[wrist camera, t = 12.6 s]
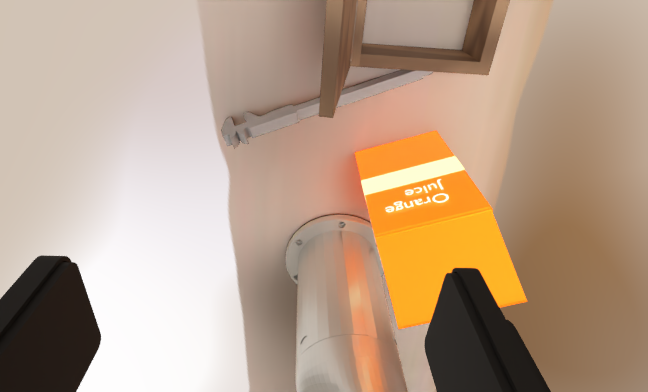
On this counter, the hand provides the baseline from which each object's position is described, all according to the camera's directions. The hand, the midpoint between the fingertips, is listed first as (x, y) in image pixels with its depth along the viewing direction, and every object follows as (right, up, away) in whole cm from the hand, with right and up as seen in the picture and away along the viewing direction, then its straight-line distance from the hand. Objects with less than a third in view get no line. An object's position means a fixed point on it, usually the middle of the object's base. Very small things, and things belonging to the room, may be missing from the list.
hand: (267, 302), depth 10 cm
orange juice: (+10, +5, +33) cm, 35 cm away
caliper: (+2, +13, +28) cm, 31 cm away
